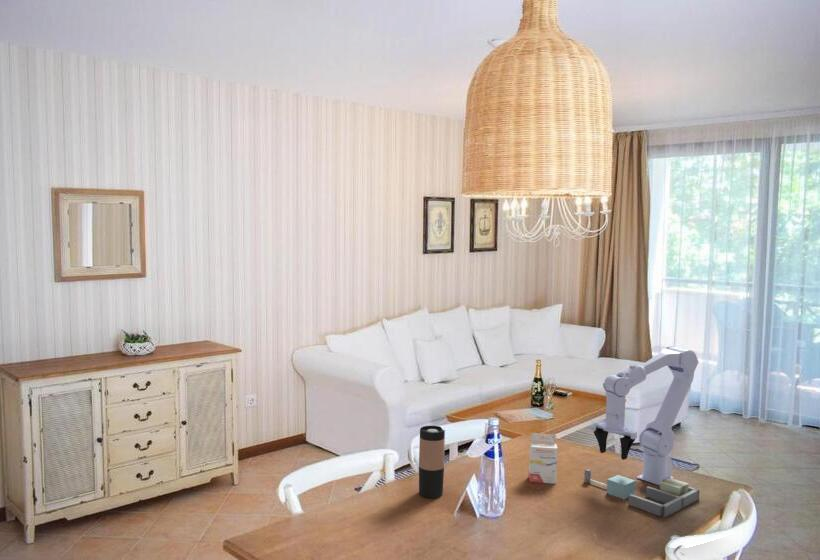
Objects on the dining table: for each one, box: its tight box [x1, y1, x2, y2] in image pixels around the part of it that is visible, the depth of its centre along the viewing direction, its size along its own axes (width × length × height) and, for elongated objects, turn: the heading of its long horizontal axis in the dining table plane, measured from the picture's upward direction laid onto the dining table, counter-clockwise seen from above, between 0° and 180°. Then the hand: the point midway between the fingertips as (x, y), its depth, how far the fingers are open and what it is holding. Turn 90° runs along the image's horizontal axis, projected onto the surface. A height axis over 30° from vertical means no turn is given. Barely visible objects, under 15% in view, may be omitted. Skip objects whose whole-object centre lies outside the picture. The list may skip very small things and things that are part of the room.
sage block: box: [659, 478, 690, 496], centre depth 201 cm, size 6×6×5 cm
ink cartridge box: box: [528, 432, 559, 485], centre depth 214 cm, size 9×5×15 cm, turn 84°
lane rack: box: [628, 479, 700, 518], centre depth 198 cm, size 21×11×3 cm, turn 131°
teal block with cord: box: [583, 468, 637, 500], centre depth 208 cm, size 6×16×4 cm, turn 41°
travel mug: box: [418, 425, 446, 499], centre depth 200 cm, size 8×8×20 cm
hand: (613, 455), depth 211 cm, fingers open, 7 cm apart
